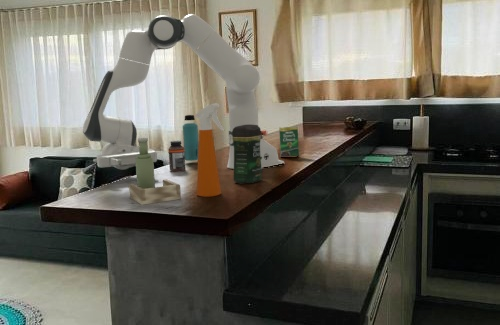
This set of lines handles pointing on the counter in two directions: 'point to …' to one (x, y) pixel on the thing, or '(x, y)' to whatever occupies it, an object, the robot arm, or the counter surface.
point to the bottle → (144, 166)
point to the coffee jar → (247, 154)
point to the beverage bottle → (190, 139)
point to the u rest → (155, 193)
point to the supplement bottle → (176, 157)
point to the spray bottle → (207, 153)
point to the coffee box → (289, 141)
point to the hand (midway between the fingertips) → (133, 161)
